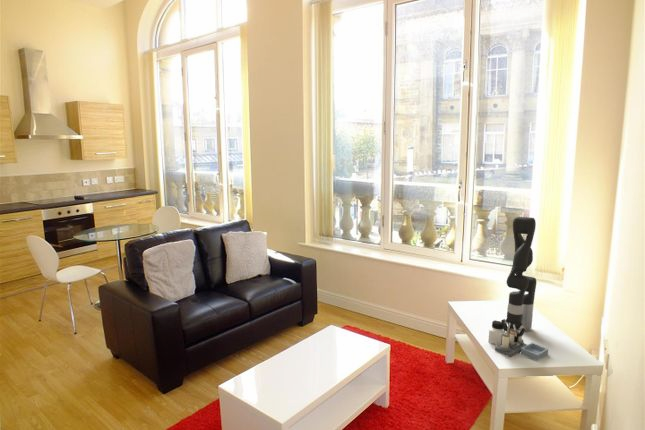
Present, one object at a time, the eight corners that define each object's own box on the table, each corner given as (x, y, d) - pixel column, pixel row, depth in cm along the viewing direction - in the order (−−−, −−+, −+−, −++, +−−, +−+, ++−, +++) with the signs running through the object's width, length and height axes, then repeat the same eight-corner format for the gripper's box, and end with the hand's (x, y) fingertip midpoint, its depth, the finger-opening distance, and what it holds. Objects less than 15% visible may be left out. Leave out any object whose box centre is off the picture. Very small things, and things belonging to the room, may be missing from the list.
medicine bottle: (501, 345, 230) (503, 325, 228) (488, 341, 234) (489, 322, 232) (504, 340, 236) (506, 321, 233) (491, 337, 240) (493, 317, 238)
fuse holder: (512, 341, 235) (514, 323, 233) (528, 347, 228) (530, 329, 226) (494, 350, 225) (495, 331, 223) (509, 357, 217) (511, 338, 215)
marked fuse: (510, 341, 228) (512, 326, 226) (516, 344, 225) (518, 329, 224) (507, 343, 226) (508, 328, 224) (513, 346, 223) (514, 331, 222)
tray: (531, 347, 228) (531, 342, 227) (547, 354, 220) (548, 349, 220) (520, 353, 221) (520, 348, 221) (537, 361, 214) (537, 355, 214)
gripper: (531, 313, 219) (528, 343, 222) (506, 305, 230) (504, 333, 233) (523, 317, 214) (520, 347, 218) (498, 308, 226) (496, 337, 229)
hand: (512, 340), depth 225 cm, fingers closed on marked fuse, 3 cm apart
